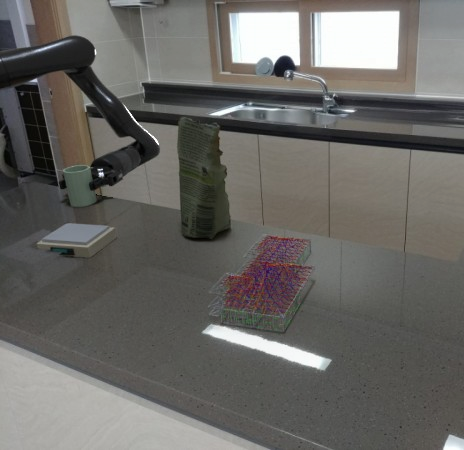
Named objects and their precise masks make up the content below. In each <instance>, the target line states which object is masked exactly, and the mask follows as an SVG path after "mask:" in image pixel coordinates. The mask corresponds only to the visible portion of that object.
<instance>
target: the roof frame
mask: <svg viewBox="0 0 464 450" xmlns="http://www.w3.org/2000/svg"><path fill="white" fill-rule="evenodd" d="M293 249H294V250H293ZM291 251H292V252H291ZM287 253H288V254H289V255H288V254H287ZM311 253H312V239H311V238H310V239H309V238H299V237H297V238H296V237H289V236H288V237H285V236H278V235H277V236H274V235H271V234H264V233H263V234H262V235H261V236H260V237H259V238H258V240H257V241H256V242H255V243H254V244H253V245H252V246H251V248H249V250H248V251H247V252H246V253H245V254H244V255H243V258H244V259H248V260H246V262H245V263H244V264H243V265H242V266H241V267H240V269H239V270H238V271H237V272H236V273H234V272H225V273H224V274H223V275H222V276H221V277H220V278H219V280H218V281H217V282H215V284H214V285H213V286H212V287H211V288H210V289H209V291H208V292H207V293H208V294H212V295H216V297H215V298H214V299H213V300H212V301H210V303H209V304H208V306H207V308H209V309H212V310H210V312H209V313H208V316H211V317H217V318H220V321H221V324H226V325H227V324H228V325H235V326H239V325H240V326H241V327H247V328H248V327H249V328H255V329H260V330H261V329H262V330H267V331H273V330H274V331H275V332H282V333H284V332H285V331H286V330H287V328H288V326H289V325H290V323H291V321H292V319H293V317H294V316H295V314H296V312H297V310H298V309H299V307H300V306H301V304H302V293H301V292H302V291H303V290H304V288H305V286H306V284H307V283H308V281H309V279H310V278H311V276H312V275H313V273H314V271H315V270H316V266H315V265H308V264H306V265H305V262H306V261H307V259H308V258H309V256H310V255H311ZM251 259H252V260H251ZM244 267H245V268H244ZM306 272H307V273H308V274H307V273H306ZM298 273H299V274H298ZM301 274H302V275H301ZM304 276H305V277H304ZM293 280H294V281H293ZM300 284H301V285H300ZM274 285H276V286H274ZM297 287H299V288H297ZM214 291H215V292H214ZM278 291H279V292H278ZM217 292H218V293H217ZM280 292H281V293H280ZM266 295H267V296H266ZM279 296H281V297H280V298H279ZM270 298H271V300H268V299H270ZM275 300H277V301H275ZM280 301H281V302H282V303H281V302H280ZM286 301H288V302H286ZM289 302H291V303H289ZM270 303H271V305H270ZM296 303H298V305H297V306H296ZM274 304H276V306H275V307H274ZM284 305H287V306H288V307H286V306H284ZM230 307H231V309H230ZM234 308H236V309H234ZM216 309H217V310H216ZM241 309H242V310H241ZM282 309H283V310H284V309H285V310H286V311H283V310H282ZM213 311H214V312H213ZM266 311H267V312H271V314H265V313H266ZM278 312H279V314H280V315H278V316H277V313H278ZM216 313H217V314H216ZM273 313H274V315H272V314H273ZM288 314H289V315H291V317H289V320H288V321H287V318H286V316H287V315H288ZM231 315H232V316H231ZM238 315H239V316H238ZM245 316H246V319H245ZM265 316H266V317H265ZM268 316H269V317H270V318H269V320H267V318H268ZM232 317H233V319H232ZM240 318H241V322H242V324H241V323H240ZM261 319H262V323H263V325H264V327H263V326H262V325H261V326H260V325H259V321H260V320H261ZM264 319H265V320H266V321H265V320H264ZM225 320H226V321H225ZM233 320H234V323H233ZM271 320H278V322H282V323H278V326H282V328H275V325H274V324H275V323H274V322H271ZM236 322H238V323H236ZM250 324H252V325H250ZM265 324H266V325H265ZM268 325H269V326H268ZM269 327H270V328H269Z"/></svg>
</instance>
